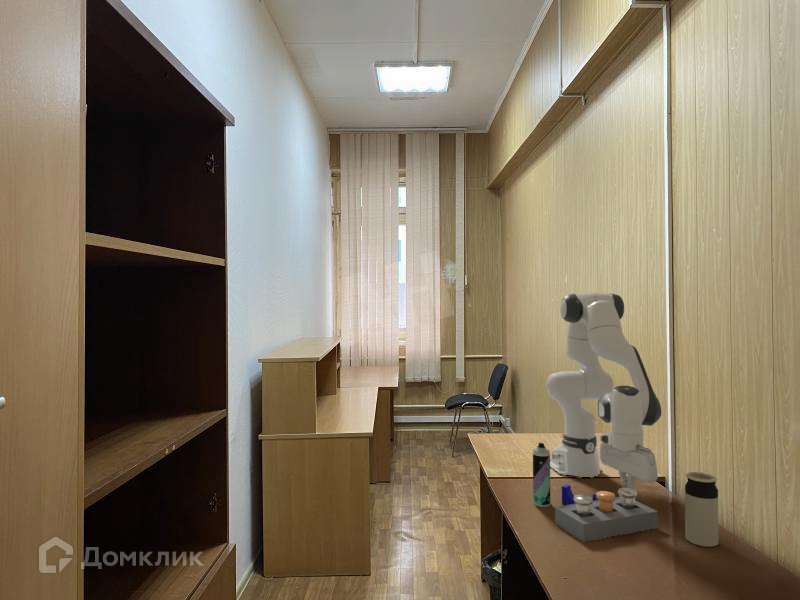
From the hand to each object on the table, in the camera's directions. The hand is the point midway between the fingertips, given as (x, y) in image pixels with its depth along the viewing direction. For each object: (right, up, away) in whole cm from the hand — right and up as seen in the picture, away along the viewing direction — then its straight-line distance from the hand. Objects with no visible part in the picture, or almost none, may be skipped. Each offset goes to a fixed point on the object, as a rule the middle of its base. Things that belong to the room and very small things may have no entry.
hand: (627, 487), depth 161 cm
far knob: (0, -8, 0) cm, 8 cm away
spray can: (-22, -11, +15) cm, 29 cm away
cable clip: (-10, -11, +12) cm, 19 cm away
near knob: (-15, -8, -5) cm, 18 cm away
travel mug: (+15, -11, -13) cm, 22 cm away
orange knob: (-8, -8, -3) cm, 11 cm away
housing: (-8, -11, -2) cm, 13 cm away
